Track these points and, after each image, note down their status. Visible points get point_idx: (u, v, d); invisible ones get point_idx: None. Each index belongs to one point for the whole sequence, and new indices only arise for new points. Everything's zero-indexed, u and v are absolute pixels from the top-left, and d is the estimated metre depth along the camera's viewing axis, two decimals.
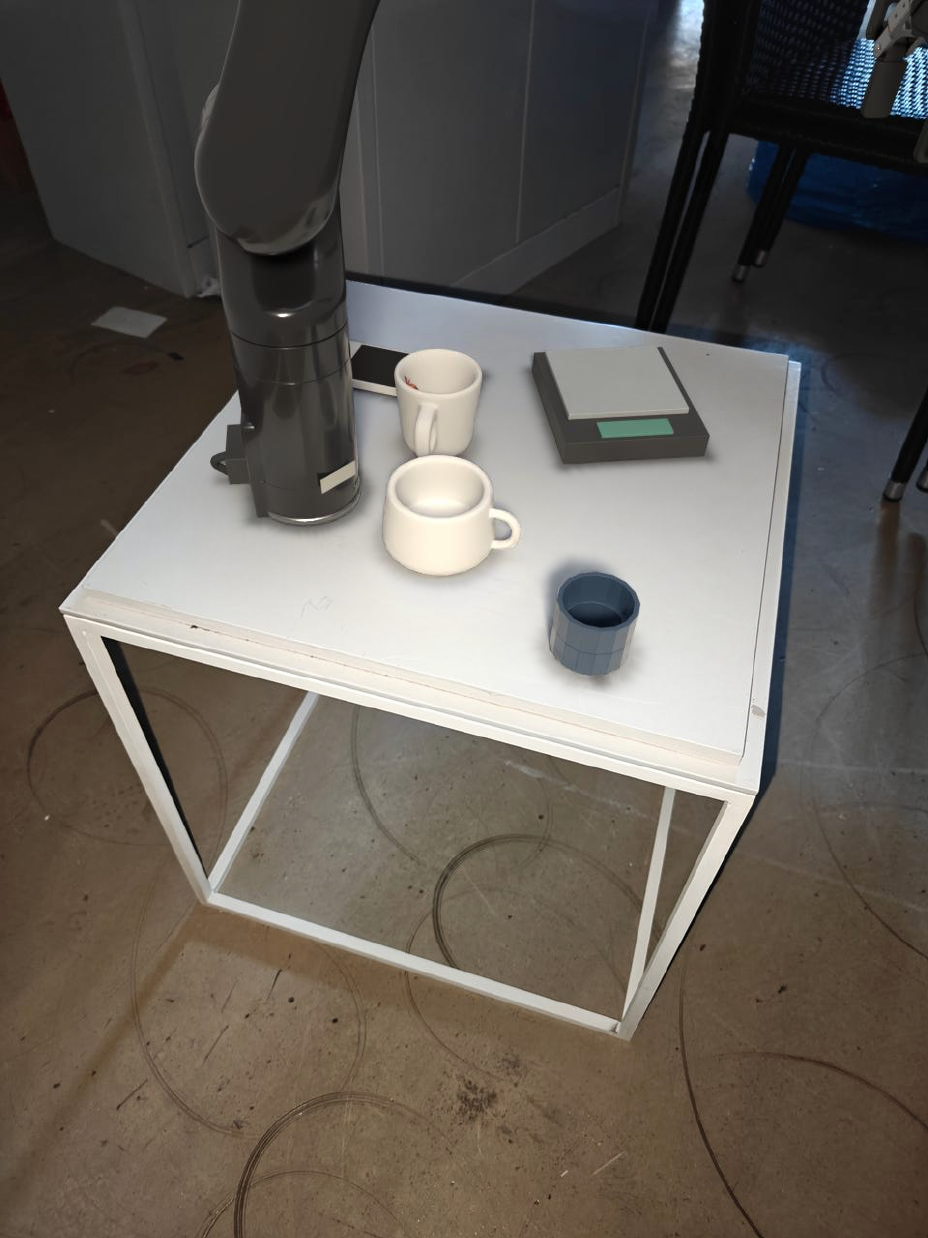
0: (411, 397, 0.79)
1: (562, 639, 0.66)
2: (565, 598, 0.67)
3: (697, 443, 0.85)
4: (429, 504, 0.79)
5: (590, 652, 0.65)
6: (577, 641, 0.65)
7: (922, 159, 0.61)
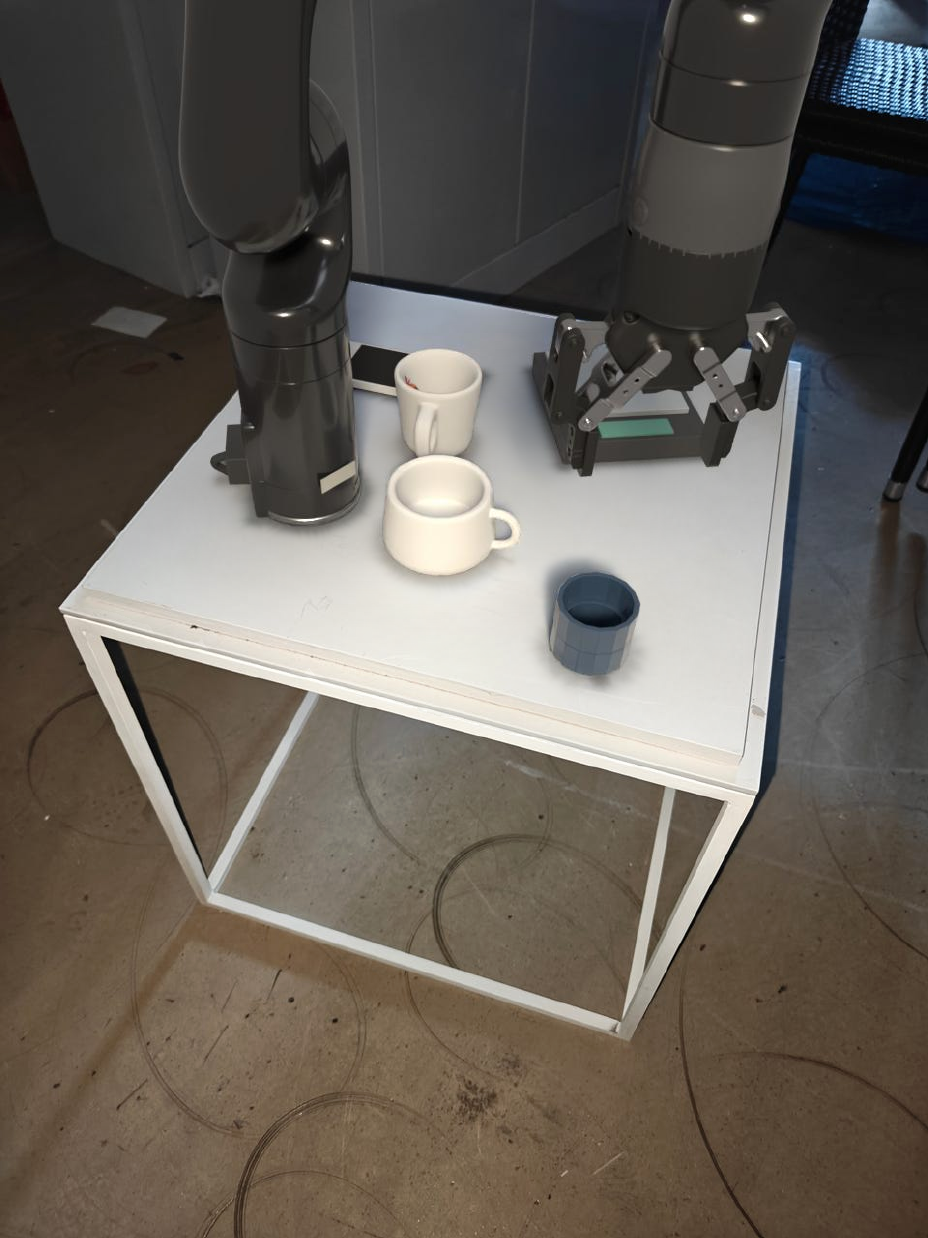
0: (411, 397, 0.79)
1: (562, 639, 0.66)
2: (565, 598, 0.67)
3: (697, 443, 0.85)
4: (429, 504, 0.79)
5: (590, 652, 0.65)
6: (577, 641, 0.65)
7: None
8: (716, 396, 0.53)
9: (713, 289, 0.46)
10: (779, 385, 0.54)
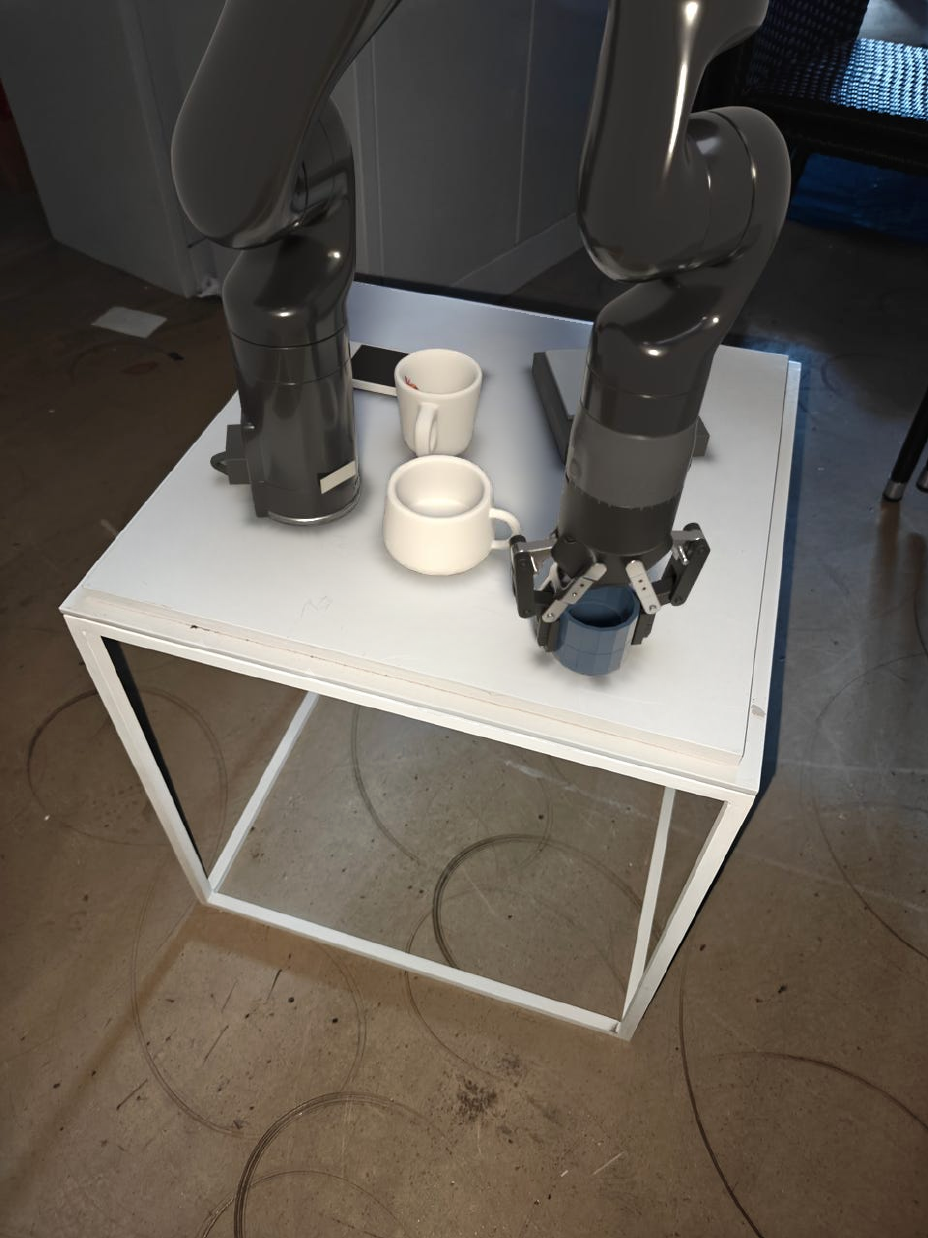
0: (411, 397, 0.79)
1: (562, 639, 0.66)
2: None
3: (697, 443, 0.85)
4: (429, 504, 0.79)
5: (590, 652, 0.65)
6: (577, 641, 0.65)
7: None
8: (638, 595, 0.63)
9: (635, 530, 0.55)
10: (690, 589, 0.64)
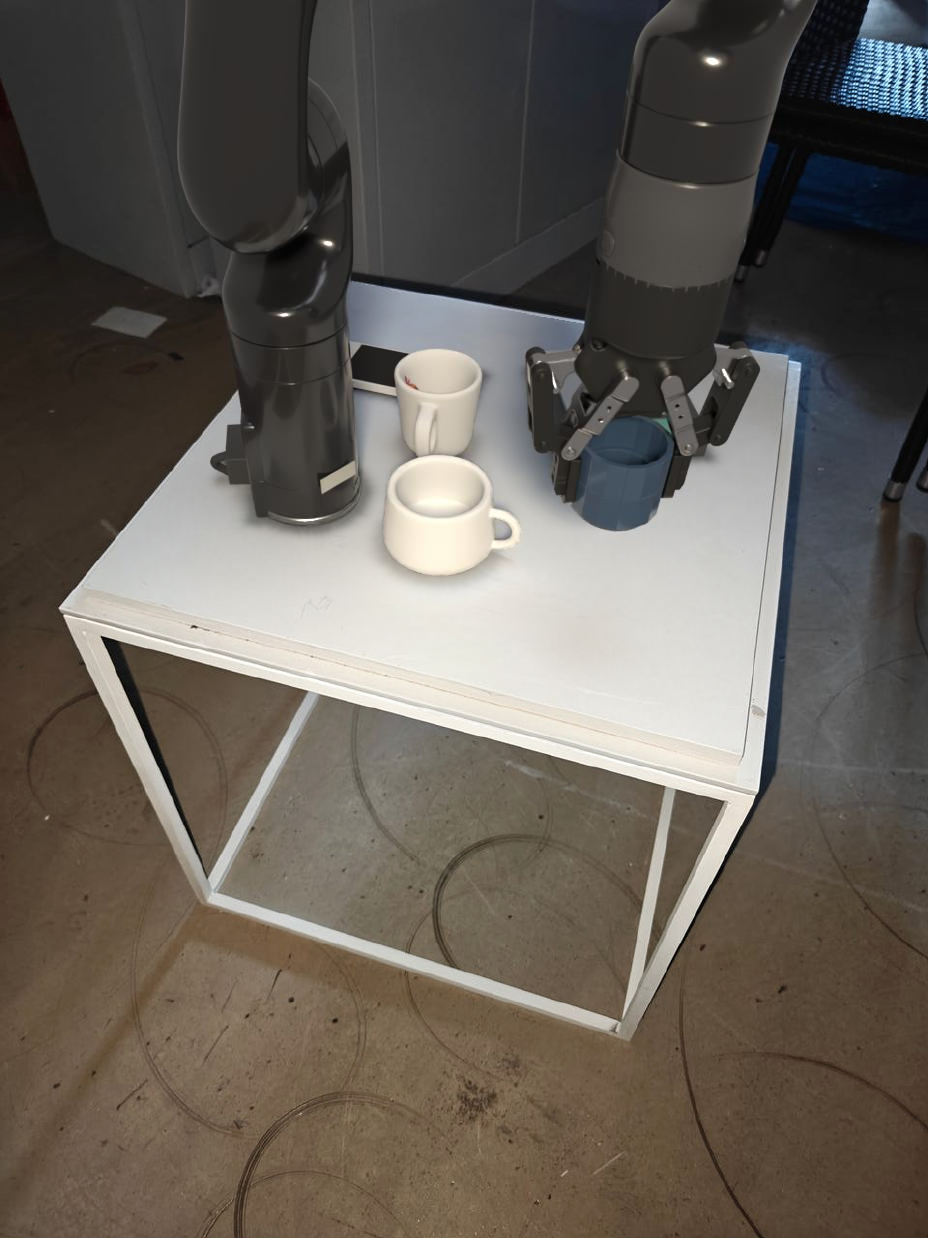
0: (411, 397, 0.79)
1: (583, 484, 0.57)
2: None
3: None
4: (429, 504, 0.79)
5: (616, 497, 0.56)
6: (601, 483, 0.56)
7: None
8: (674, 426, 0.54)
9: (677, 321, 0.46)
10: (733, 423, 0.55)
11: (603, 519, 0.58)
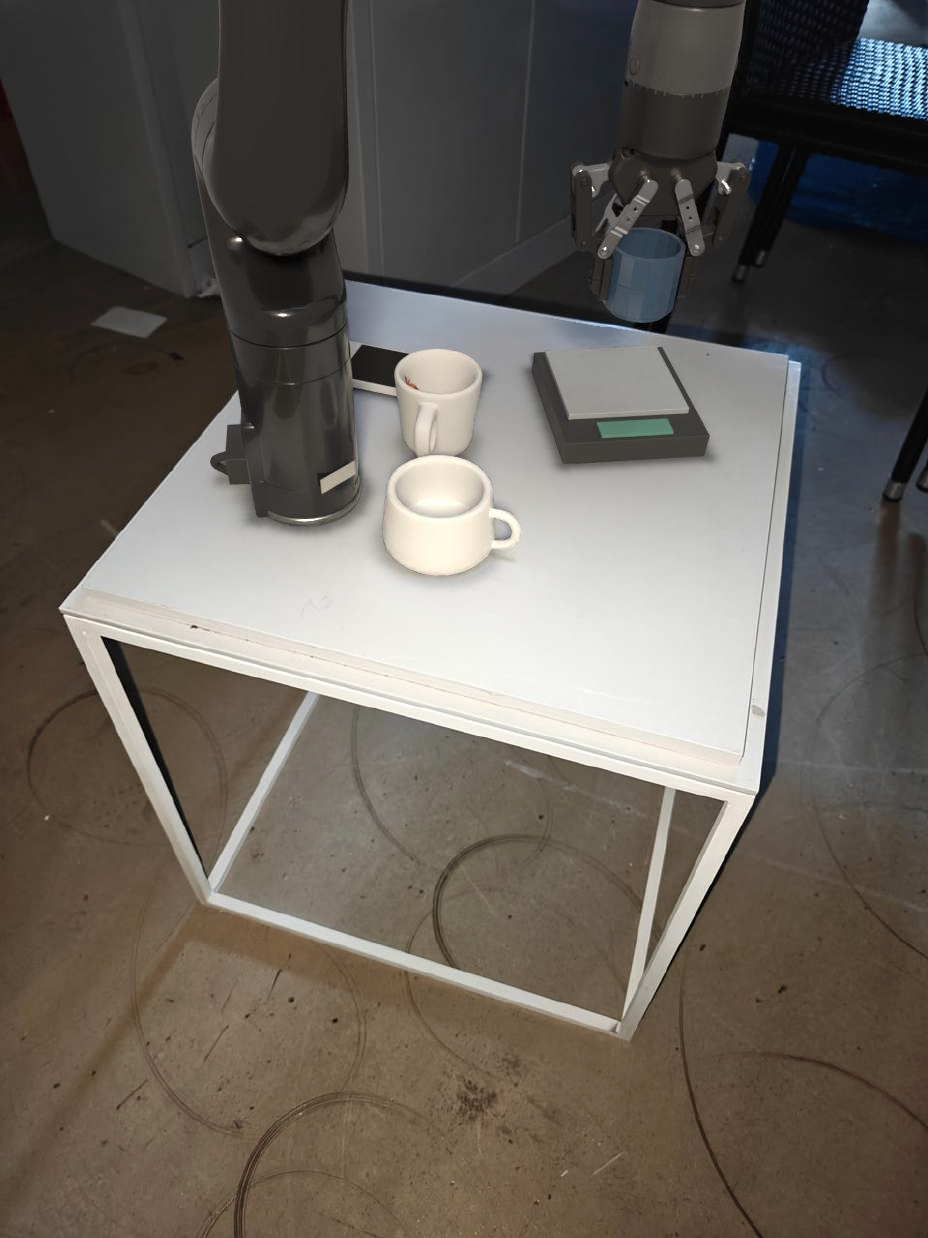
0: (411, 397, 0.79)
1: (614, 281, 0.73)
2: None
3: (697, 443, 0.85)
4: (429, 504, 0.79)
5: (640, 288, 0.72)
6: (629, 277, 0.72)
7: None
8: (685, 226, 0.70)
9: (686, 123, 0.62)
10: (731, 226, 0.71)
11: (630, 310, 0.73)
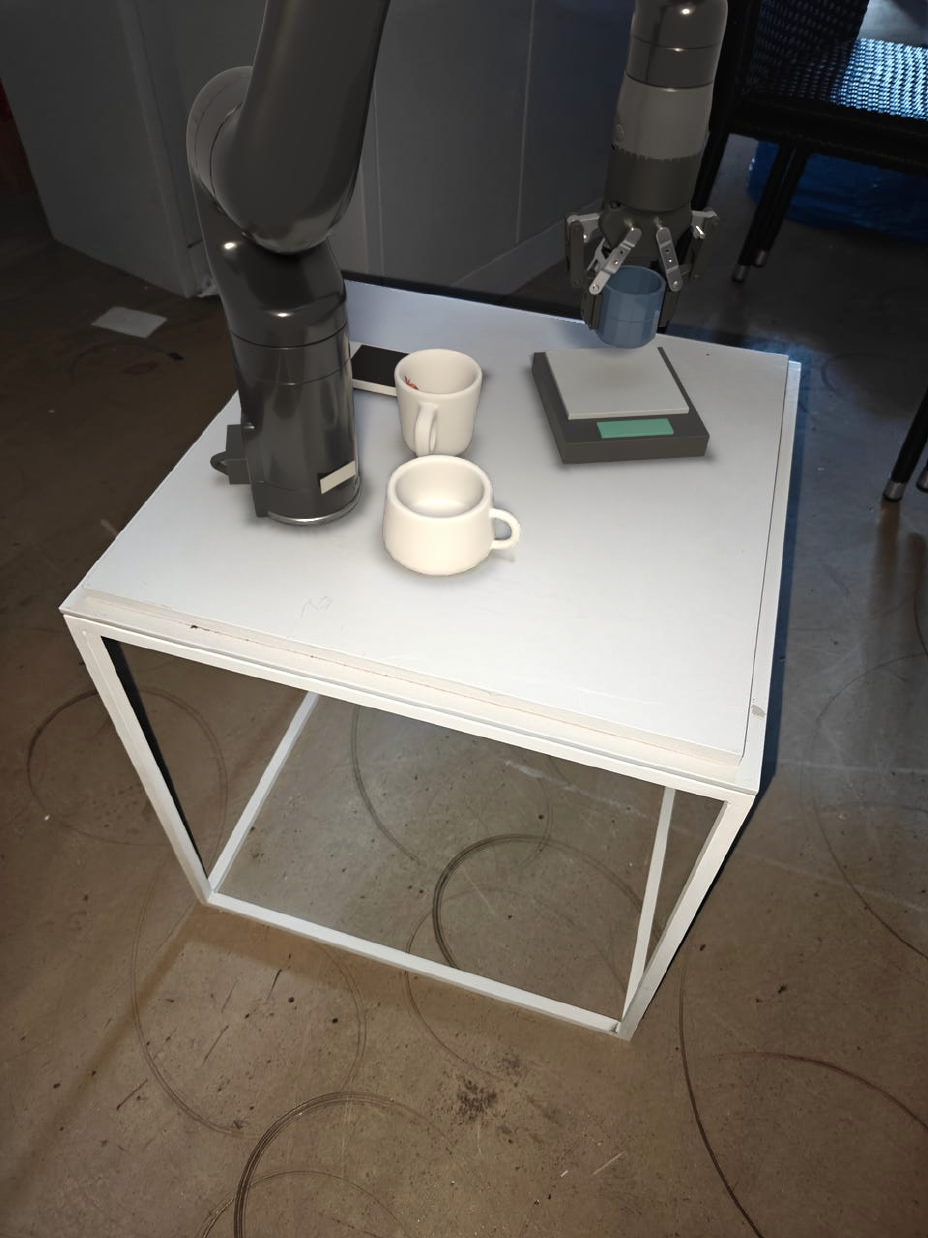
0: (411, 397, 0.79)
1: (604, 313, 0.83)
2: None
3: (697, 443, 0.85)
4: (429, 504, 0.79)
5: (627, 320, 0.82)
6: (616, 310, 0.82)
7: None
8: (665, 267, 0.80)
9: (665, 182, 0.72)
10: (706, 265, 0.81)
11: (618, 338, 0.83)
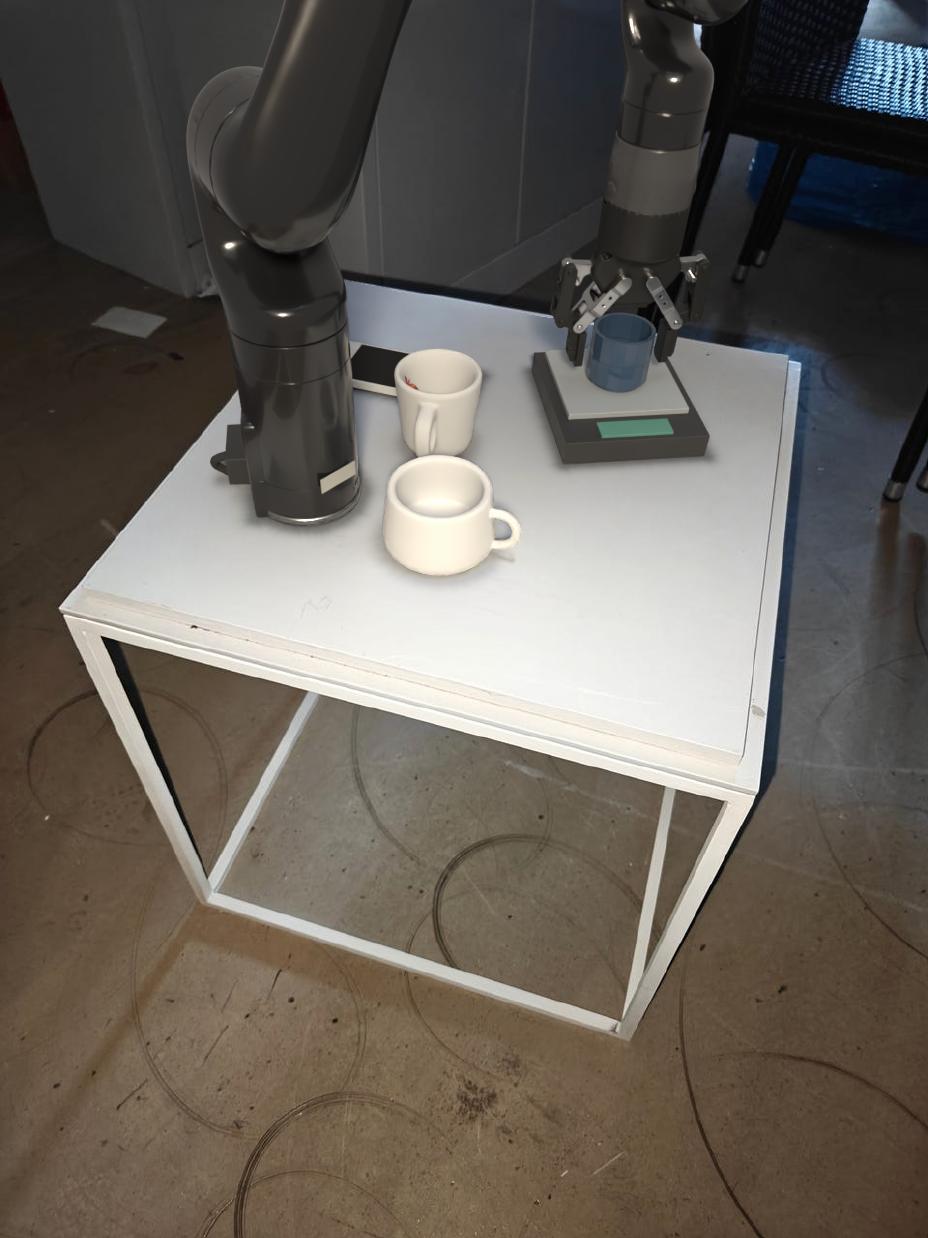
0: (411, 397, 0.79)
1: (597, 359, 0.86)
2: (598, 332, 0.88)
3: (697, 443, 0.85)
4: (429, 504, 0.79)
5: (618, 366, 0.86)
6: (609, 357, 0.85)
7: None
8: (662, 310, 0.83)
9: (654, 237, 0.76)
10: (703, 304, 0.84)
11: (610, 383, 0.87)
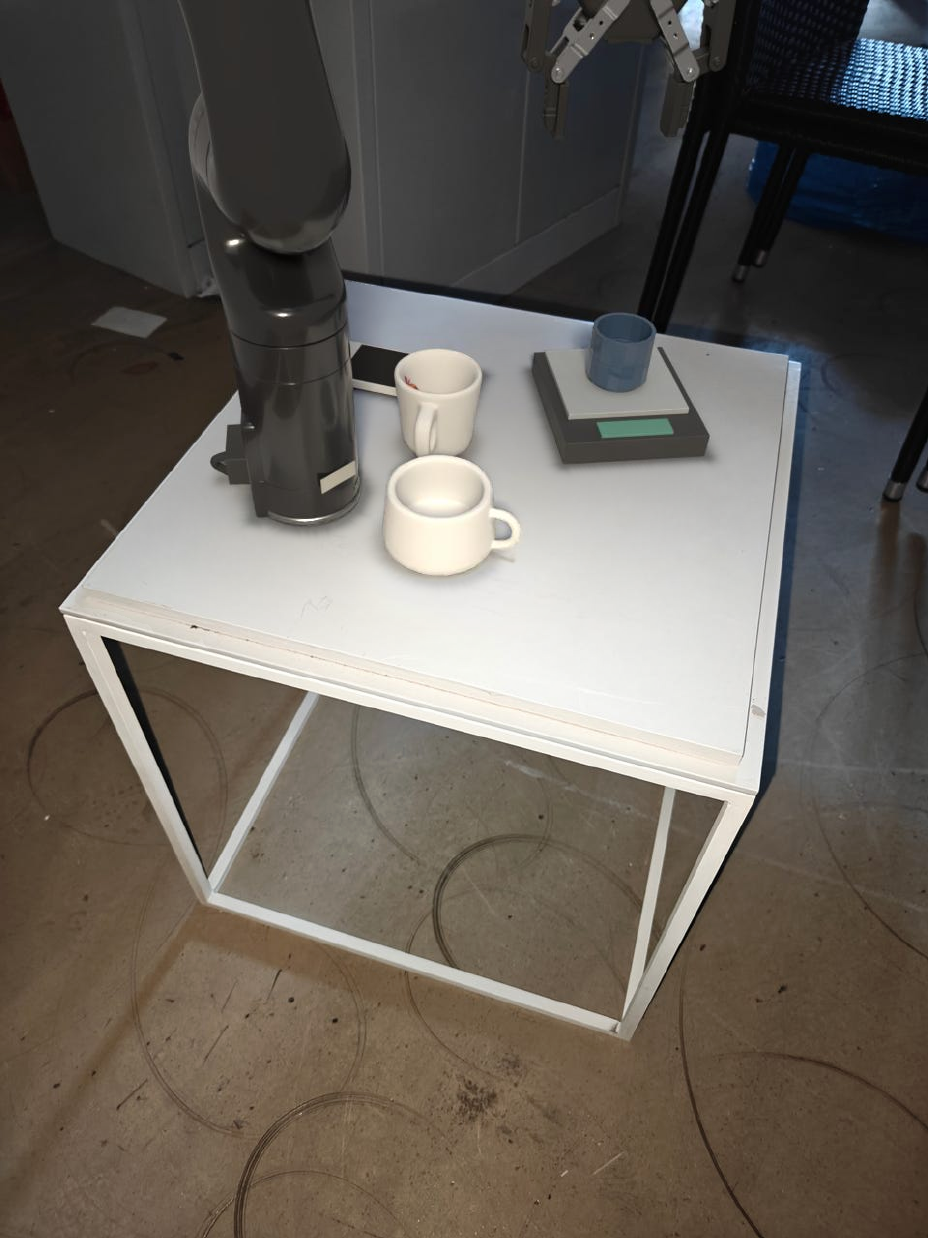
0: (411, 397, 0.79)
1: (597, 359, 0.86)
2: (598, 332, 0.88)
3: (697, 443, 0.85)
4: (429, 504, 0.79)
5: (618, 366, 0.86)
6: (609, 357, 0.85)
7: None
8: (671, 47, 0.61)
9: None
10: (727, 42, 0.62)
11: (610, 383, 0.87)
